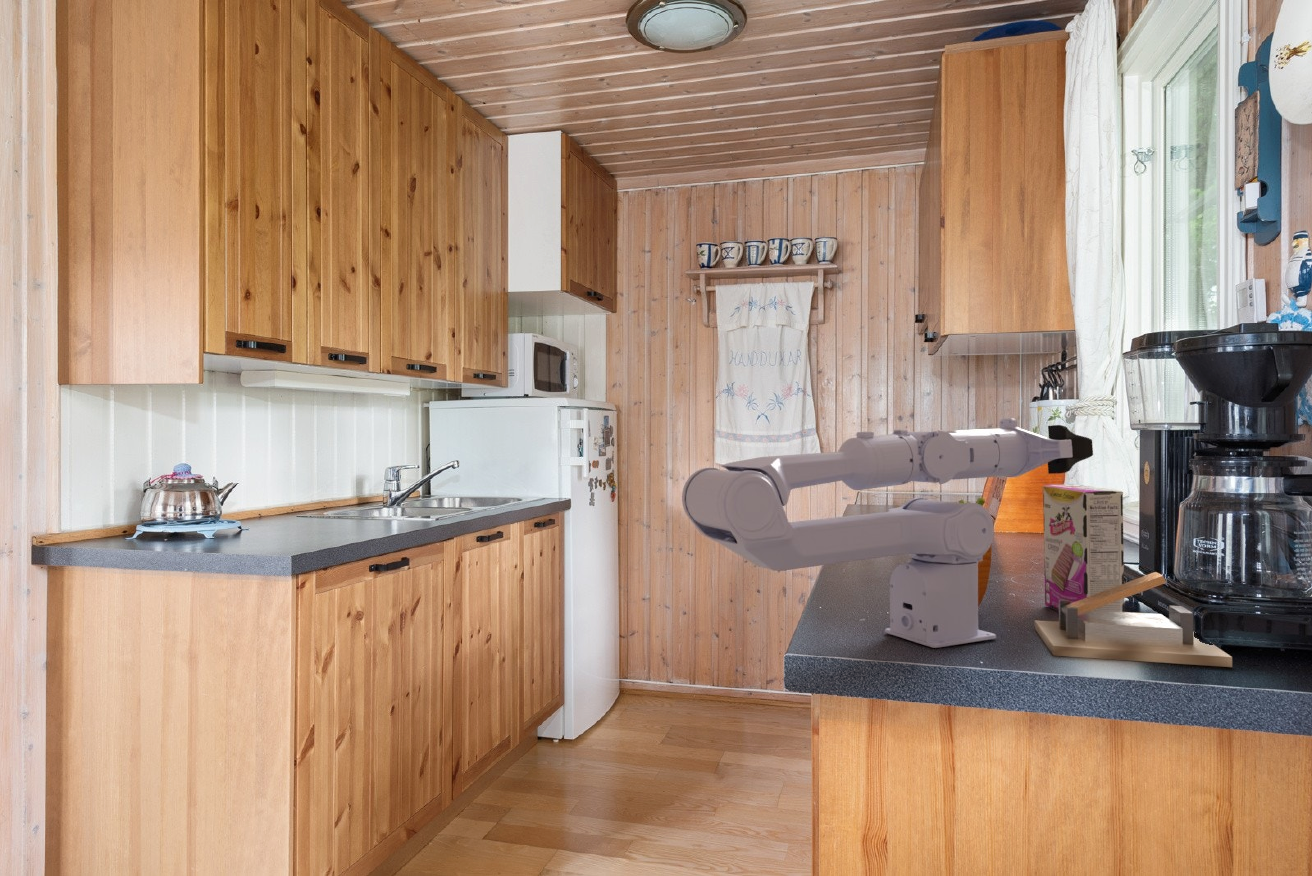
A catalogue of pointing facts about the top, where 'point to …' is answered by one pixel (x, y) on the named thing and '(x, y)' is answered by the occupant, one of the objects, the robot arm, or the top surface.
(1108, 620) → the stone
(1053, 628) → the birch board
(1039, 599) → the top surface
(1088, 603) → the copper strap
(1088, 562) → the candy bar box
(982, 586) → the carrot
